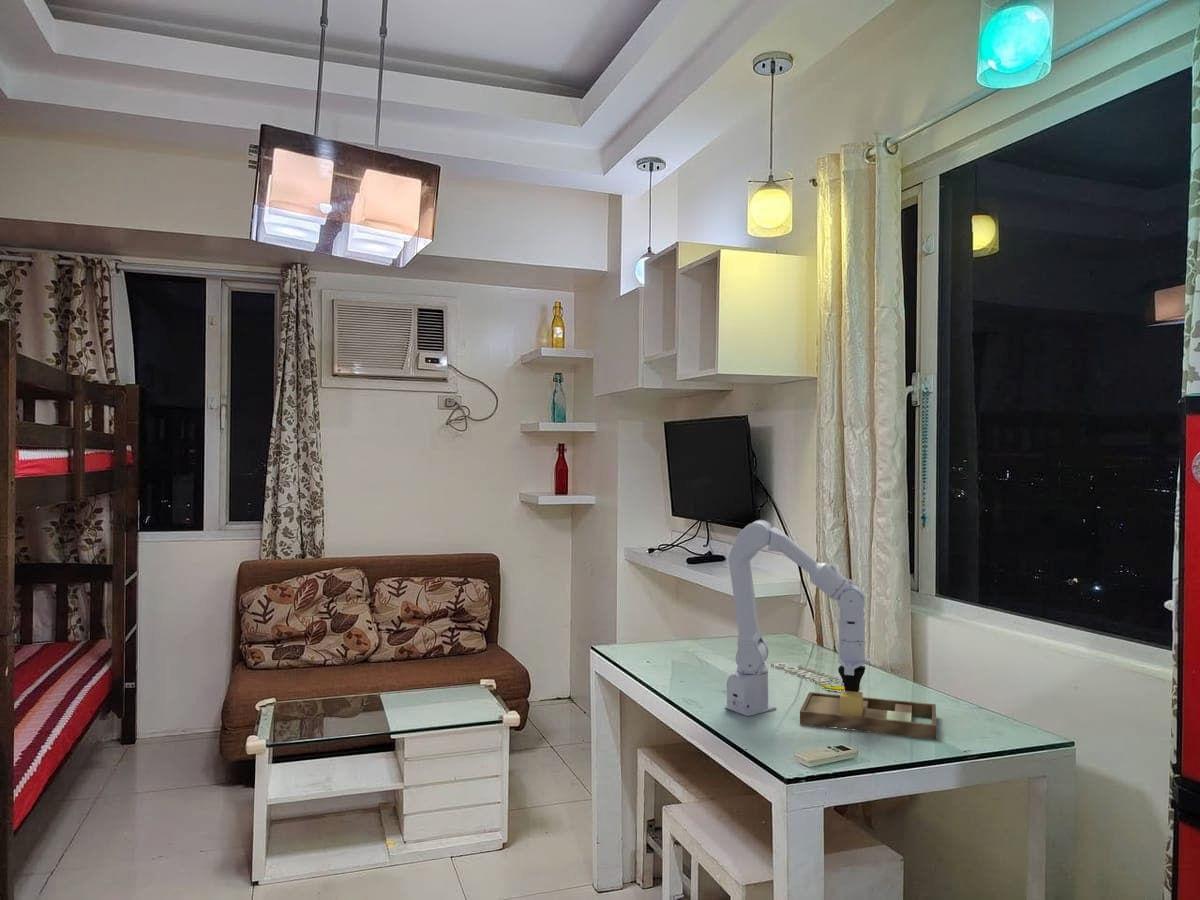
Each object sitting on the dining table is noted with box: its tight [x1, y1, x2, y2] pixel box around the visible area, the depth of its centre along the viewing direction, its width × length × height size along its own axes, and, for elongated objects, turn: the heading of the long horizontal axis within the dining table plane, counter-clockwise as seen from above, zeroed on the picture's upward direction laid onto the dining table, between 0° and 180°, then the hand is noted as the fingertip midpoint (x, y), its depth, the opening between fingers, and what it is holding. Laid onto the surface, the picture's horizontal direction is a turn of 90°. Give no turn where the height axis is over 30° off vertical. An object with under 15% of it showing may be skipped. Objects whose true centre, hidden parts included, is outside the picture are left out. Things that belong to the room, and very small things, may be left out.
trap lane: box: [799, 691, 938, 740], centre depth 184 cm, size 28×16×3 cm, turn 68°
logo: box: [770, 662, 845, 691], centre depth 219 cm, size 29×1×10 cm
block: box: [839, 691, 864, 716], centre depth 182 cm, size 4×4×4 cm
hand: (852, 699), depth 186 cm, fingers closed
